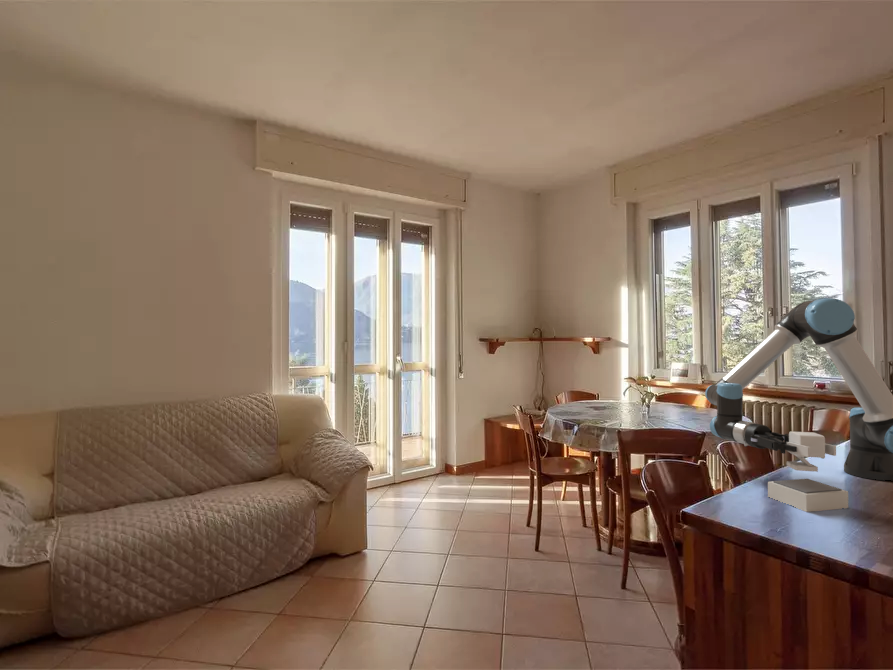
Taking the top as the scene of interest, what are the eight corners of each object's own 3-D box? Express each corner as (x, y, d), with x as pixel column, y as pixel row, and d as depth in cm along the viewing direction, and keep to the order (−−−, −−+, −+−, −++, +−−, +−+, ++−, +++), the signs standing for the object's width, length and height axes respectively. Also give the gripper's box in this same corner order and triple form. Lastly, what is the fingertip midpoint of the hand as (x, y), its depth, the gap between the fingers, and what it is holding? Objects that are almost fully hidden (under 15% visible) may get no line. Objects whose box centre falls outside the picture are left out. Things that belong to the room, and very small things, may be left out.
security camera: (825, 472, 131) (825, 436, 131) (796, 470, 133) (797, 435, 133) (812, 466, 137) (812, 432, 138) (785, 464, 139) (785, 430, 139)
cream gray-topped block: (807, 494, 142) (807, 477, 142) (848, 508, 131) (848, 489, 131) (767, 497, 140) (767, 480, 140) (806, 511, 128) (806, 493, 128)
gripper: (780, 445, 155) (852, 463, 133) (725, 447, 151) (790, 466, 128) (780, 422, 155) (852, 436, 133) (725, 424, 151) (790, 439, 128)
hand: (822, 451), depth 131 cm, fingers closed on security camera, 8 cm apart
